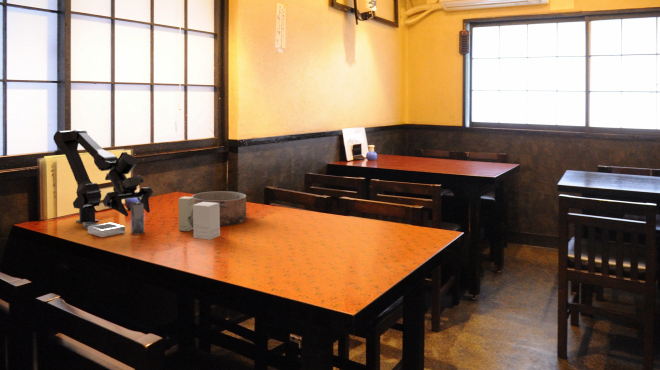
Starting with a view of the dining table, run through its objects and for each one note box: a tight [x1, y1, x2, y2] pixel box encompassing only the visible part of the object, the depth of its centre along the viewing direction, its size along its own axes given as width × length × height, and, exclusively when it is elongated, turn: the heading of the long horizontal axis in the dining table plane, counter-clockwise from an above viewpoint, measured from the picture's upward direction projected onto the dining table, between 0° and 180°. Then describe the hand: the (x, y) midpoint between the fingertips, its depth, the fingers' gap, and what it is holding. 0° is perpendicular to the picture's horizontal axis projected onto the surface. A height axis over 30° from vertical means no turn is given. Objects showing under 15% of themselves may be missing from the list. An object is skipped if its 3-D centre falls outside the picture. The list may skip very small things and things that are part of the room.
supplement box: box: [192, 202, 221, 241], centre depth 199 cm, size 7×7×13 cm
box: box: [177, 195, 194, 232], centre depth 208 cm, size 5×4×13 cm
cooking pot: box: [191, 190, 247, 227], centre depth 226 cm, size 30×22×11 cm
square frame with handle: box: [82, 221, 126, 238], centre depth 204 cm, size 20×9×2 cm, turn 54°
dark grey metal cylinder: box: [130, 201, 145, 235], centre depth 202 cm, size 5×5×12 cm
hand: (138, 213), depth 202 cm, fingers open, 9 cm apart
